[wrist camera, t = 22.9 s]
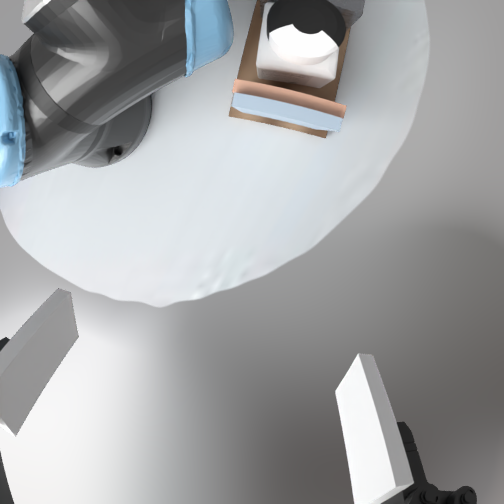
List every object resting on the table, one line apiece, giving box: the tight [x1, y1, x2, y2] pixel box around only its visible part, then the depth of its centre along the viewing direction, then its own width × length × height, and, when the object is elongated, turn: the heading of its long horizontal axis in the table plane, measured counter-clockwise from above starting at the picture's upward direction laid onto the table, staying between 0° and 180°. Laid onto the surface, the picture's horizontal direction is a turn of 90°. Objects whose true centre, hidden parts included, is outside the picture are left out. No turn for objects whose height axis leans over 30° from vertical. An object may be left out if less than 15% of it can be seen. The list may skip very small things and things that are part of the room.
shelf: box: [229, 0, 350, 138], centre depth 29 cm, size 12×21×2 cm, turn 168°
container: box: [256, 0, 346, 88], centre depth 23 cm, size 8×8×13 cm
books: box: [231, 79, 346, 132], centre depth 27 cm, size 10×2×12 cm, turn 78°
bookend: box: [260, 0, 365, 31], centre depth 23 cm, size 10×2×9 cm, turn 78°
